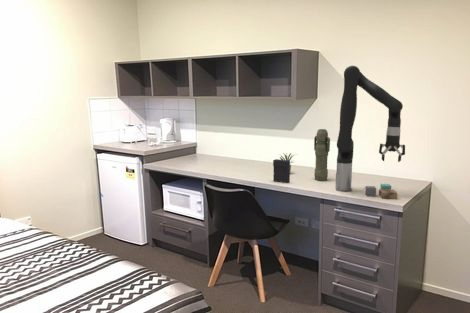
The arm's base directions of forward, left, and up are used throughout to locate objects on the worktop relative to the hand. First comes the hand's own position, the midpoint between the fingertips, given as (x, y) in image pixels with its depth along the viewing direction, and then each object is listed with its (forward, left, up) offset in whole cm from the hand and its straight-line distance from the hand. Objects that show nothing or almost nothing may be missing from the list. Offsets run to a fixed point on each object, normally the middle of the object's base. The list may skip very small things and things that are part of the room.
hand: (391, 161), depth 230 cm
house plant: (-61, +49, -19) cm, 81 cm away
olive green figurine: (-38, +30, -19) cm, 52 cm away
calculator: (-65, +21, -19) cm, 71 cm away
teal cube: (-2, -1, -19) cm, 19 cm away
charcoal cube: (-12, -8, -19) cm, 24 cm away
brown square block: (-3, -11, -19) cm, 23 cm away
